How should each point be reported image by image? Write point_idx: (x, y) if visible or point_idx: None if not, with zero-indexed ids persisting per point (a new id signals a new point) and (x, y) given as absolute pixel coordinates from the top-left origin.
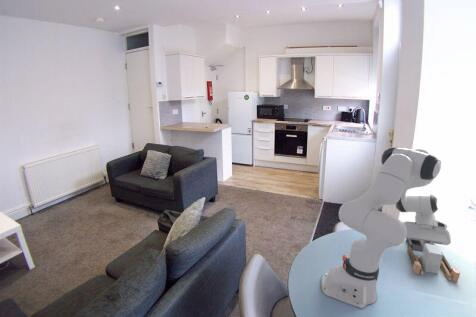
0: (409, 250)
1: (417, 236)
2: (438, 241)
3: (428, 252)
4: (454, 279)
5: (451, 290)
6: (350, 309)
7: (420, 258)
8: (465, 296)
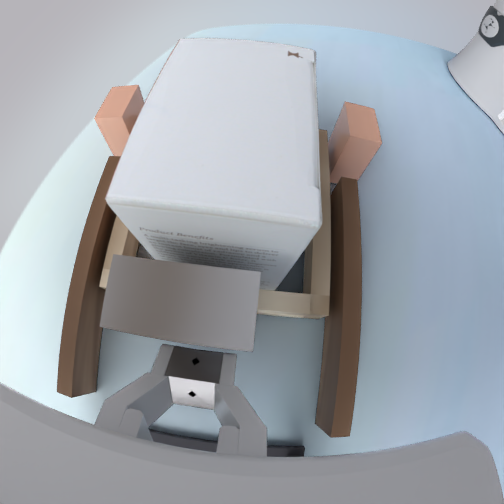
0: (352, 380)
1: (350, 486)
2: (24, 402)
3: (314, 69)
4: None
5: None
6: None
7: (279, 293)
8: None
